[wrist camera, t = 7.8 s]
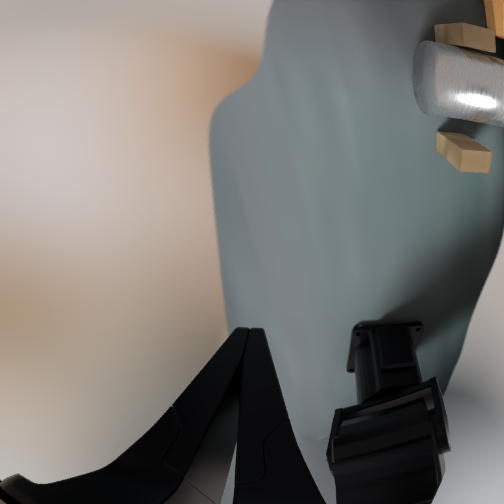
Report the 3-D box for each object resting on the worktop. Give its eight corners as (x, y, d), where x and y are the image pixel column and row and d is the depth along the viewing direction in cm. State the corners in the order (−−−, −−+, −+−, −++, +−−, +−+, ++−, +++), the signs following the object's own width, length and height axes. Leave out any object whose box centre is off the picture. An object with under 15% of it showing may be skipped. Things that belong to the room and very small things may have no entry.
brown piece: (462, 151, 16) (489, 172, 13) (435, 149, 16) (459, 171, 13) (463, 30, 11) (494, 30, 9) (434, 24, 12) (462, 22, 9)
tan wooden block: (502, 39, 11) (510, 40, 10) (487, 35, 11) (496, 35, 10) (497, -4, 9) (505, -5, 8) (482, -9, 9) (490, -10, 8)
